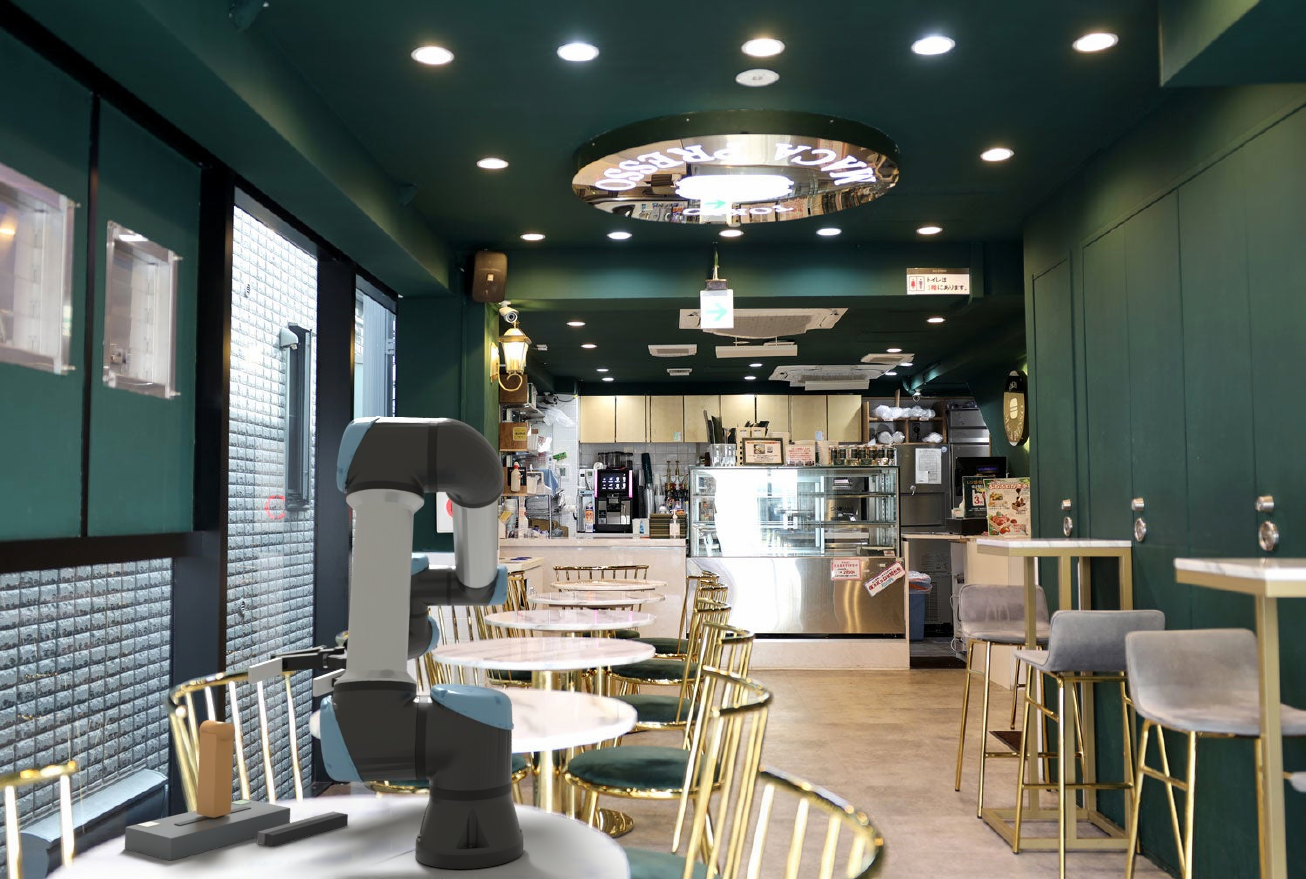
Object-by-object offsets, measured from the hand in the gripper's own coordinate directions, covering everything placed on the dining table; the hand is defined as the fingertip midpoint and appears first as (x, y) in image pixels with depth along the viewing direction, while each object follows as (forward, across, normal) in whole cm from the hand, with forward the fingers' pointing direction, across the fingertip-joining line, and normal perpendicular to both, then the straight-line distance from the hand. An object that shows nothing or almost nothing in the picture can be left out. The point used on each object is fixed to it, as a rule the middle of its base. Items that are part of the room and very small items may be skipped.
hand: (281, 681), depth 167 cm
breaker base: (+13, +2, -21) cm, 24 cm away
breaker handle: (+12, +2, -17) cm, 21 cm away
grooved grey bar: (+5, -10, -21) cm, 23 cm away
